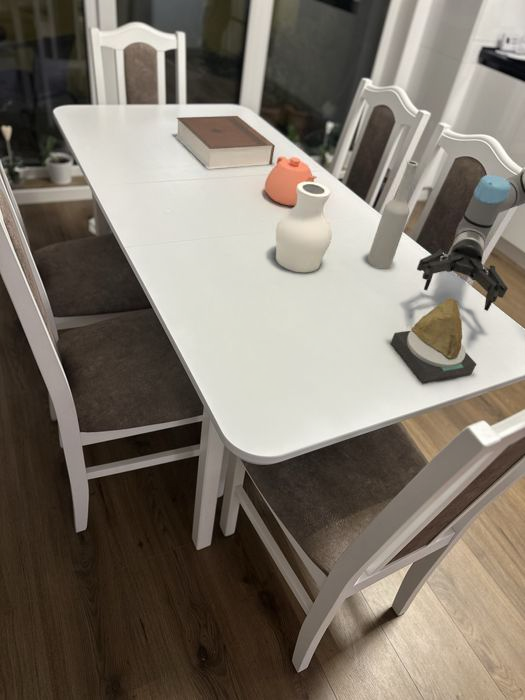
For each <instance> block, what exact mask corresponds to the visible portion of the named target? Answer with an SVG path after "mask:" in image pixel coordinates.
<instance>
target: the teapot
mask: <svg viewBox="0 0 525 700" xmlns="http://www.w3.org/2000/svg"><path fill="white" fill-rule="evenodd" d="M317 177H318V176H316V175H313V173H312V171H311V168H310V166H309V165H308V164H307V163H306V162H304V161H301V159H300V158H299V157H294V156H293V157H289V158H287V157H286V156H282V155H281V156H279V157H278V158H277V159H276V165H274V166H273V168H272V169H271V170H270V172H269V173H268V175H267V177H266V179H265V183H264V190H265V192H266V194H267V195H268V196H269V197H270V199H272V201H274V202H276V203H278V204H280V205H281V204H282V205H285V206H293V207H295V205H296V203H297V192H296V189H297V185H298V184H299V183H302V182H315V179H317Z"/></svg>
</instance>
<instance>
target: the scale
mask: <svg viewBox="0 0 525 700" xmlns="http://www.w3.org/2000/svg"><path fill="white" fill-rule="evenodd" d="M391 338H392V339H391V341H390V344H391V345H392V347H393V348H394V349H395V351H396V352H397V353H398V354H399V356H400V357H401V358H402V359H403V361H404V362H405V363H406V364H407V366H408V367H409V368H410V369H411V371H412V372H413V373H414V375H415V376H416V377H417V379H418V380H419V381H420V382H421V383H422V384H425V383H431V382H435V381H440V380H445V379H447V380H448V379H453V378H458V377H463V376H467V375H468V376H469V375H472V373H473V372H474V370H475V368H476V366H477V365H478V364H477V363H476V361H475V360H474V359H472V358H471V356H470V355H469V354H468V352H466V349H465V346H464V345H463V343H462V342H461V350H460V351H459V354H458V356H457V357H456V358H451V359H450V358H448V357H447V356H445V355H444V354H443V353H442V352H440V351H438V350H436V349H435V348H433V347H431V346H430V345H428V344H426V343H425V342H424V341H422V340H421V339H420V338H419V337H418V335H417V334H416V333H415V332H414V331H412V330H411V329H410V330H406V331H398V332H394V333H393V336H392V337H391Z"/></svg>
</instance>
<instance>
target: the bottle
mask: <svg viewBox="0 0 525 700" xmlns="http://www.w3.org/2000/svg"><path fill="white" fill-rule="evenodd" d="M418 166H419V163H418V162H417V161H415V160H407V161H406V166H405V169H404V172H403V175H402V179H401V180H400V184H399V187H398V189H397V192H396V194H395V196H394V197H393V198H392V199H391V200H389V201H388V202H387V203H386V204H385V205H384V208H383V210H382V213H381V217H380V220H379V223H378V226H377V229H376V231H375V235H374V238H373V241H372V244H371V246H370V249H369V253H368V256H367V262H368V264H370V265H371V266H372V267H374V268H377V269H383V270H384V269H385V270H386V269H389V268H391V266H392V264H393V260H394V258H395V256H396V253H397V250H398V247H399V244H400V242H401V239H402V235H403V233H404V230H405V226H406V224H407V220H408V218H409V216H410V207H409V205H408V201H407V199H408V196H409V193H410V190H411V189H410V188H411V185H412V183H413V179H414V176H415V174H416V171H417V168H418Z"/></svg>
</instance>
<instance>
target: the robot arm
mask: <svg viewBox="0 0 525 700" xmlns="http://www.w3.org/2000/svg"><path fill="white" fill-rule="evenodd" d="M524 204H525V170H524V171H522V172H519V173H517V174H515V175H513V176H510V177H508V178H504V177H501V176H498V175H496V174H486V175H484V176H482V177H481V178H480V180H479V182H478V184H477V185H476V187H475V188H474V192H473V195H472V196H471V199H470V201H469V203H468V206H467V208H466V210H465V213H464V214H463V216H462V218H461V221H460V222H458V225H457V227H456V229H455V236H454V240H453V244H452V247H451V250H450V254H447V253H445V252H444V249H443V248H438V250H437V251H436V252H434V253H432V254H430V255H427V256H425V257H423V258H420V259H419V261H418V264H417V267H416V270H417V271H419V272H422V271H423V273H422V280H426V281H425V284H424V287H423V290H424V291H428V290H429V287H430V284H431V282H432V280H433V276H434V274H438V273H444V272H447V273H452V272H456V273H458V274H462V275H465V276H467V277H469V278H470V279H471V280H472V281H475V282H476V283H477V284H478V285H479V286H480V287H481V288H483V289H484V290H485V291H486V292H487V293H486V295H485V301H484V309H483V310H484V311H487V312H489V310H490V308H491V306H492V305H493V303H495V302H496V301H497V299H498V298H499V299H500V298H502V299H503V298H504V296H505V295H506V293H507V291H508V289H509V287H508V286H507V284H505V282H504V281H503V279H502V278H501V276H500V274H498V272H497V270H496V266H495V265H492V264H491V265H490V266H489V267H487V266H485V265H484V264H483V257H484V251H485V244H486V241H487V237H488V236H489V234H490V231H491V230H492V227H493V226H494V224H495V222H496V220H497V218H498V216H499V214H500V213H503V212H505V211H508V210H510V209H513V208H515V207H518V206H522V205H524Z"/></svg>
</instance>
